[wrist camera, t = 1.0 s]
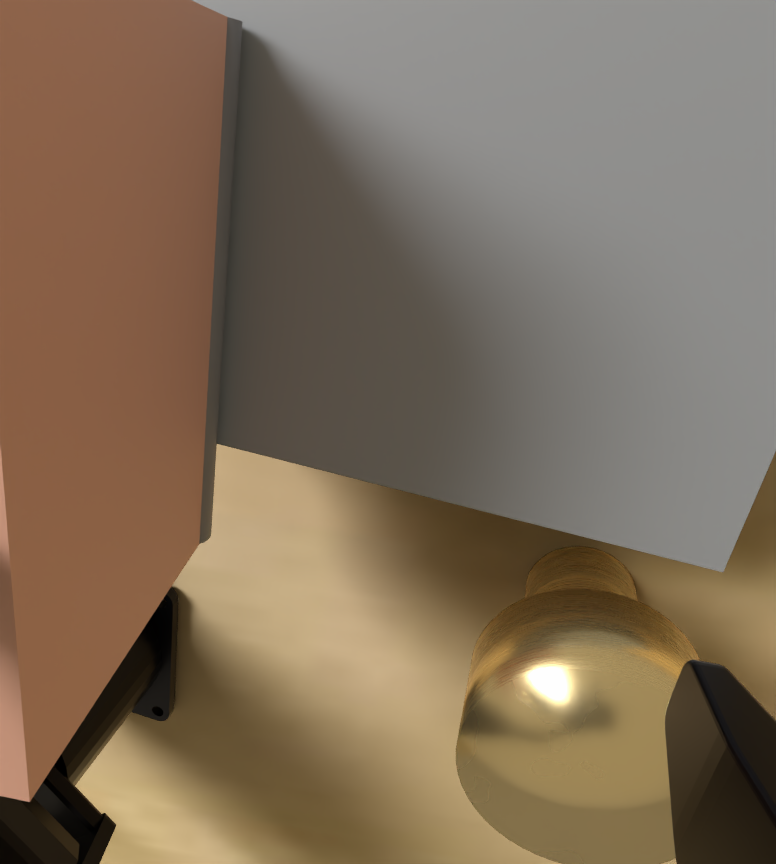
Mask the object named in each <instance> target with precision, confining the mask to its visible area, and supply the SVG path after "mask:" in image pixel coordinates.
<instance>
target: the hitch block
mask: <svg viewBox="0 0 776 864" xmlns="http://www.w3.org/2000/svg"><path fill="white" fill-rule="evenodd" d="M192 1H194V2H196V3H198V4H201V5H203V6H205V7H207V8H209V9H211V10H214V11H216V12H218V13H220V14H222V15H224V16H227V17H230V18H233V19H237V20H240V21H242V38H241V54H240V71H239V87H238V103H237V120H236V136H235V152H234V168H233V185H232V201H231V217H230V233H229V250H228V266H227V282H226V298H225V315H224V331H223V347H222V363H221V380H220V396H219V412H218V429H217V444H221V445H225V446H228V447H232V448H236V449H240V450H244V451H248V452H252V453H256V454H260V455H264V456H268V457H272V458H276V459H279V460H283V461H287V462H291V463H295V464H299V465H303V466H307V467H311V468H315V469H319V470H323V471H327V472H331V473H334V474H338V475H342V476H346V477H350V478H354V479H358V480H362V481H366V482H370V483H374V484H378V485H382V486H386V487H389V488H393V489H397V490H401V491H405V492H409V493H413V494H417V495H421V496H425V497H429V498H433V499H437V500H440V501H444V502H448V503H452V504H456V505H460V506H464V507H468V508H472V509H476V510H480V511H484V512H488V513H492V514H495V515H499V516H503V517H507V518H511V519H515V520H519V521H523V522H527V523H531V524H535V525H539V526H543V527H546V528H550V529H554V530H558V531H562V532H566V533H570V534H574V535H578V536H582V537H586V538H590V539H594V540H598V541H601V542H605V543H609V544H613V545H617V546H621V547H625V548H629V549H633V550H637V551H641V552H645V553H649V554H653V555H656V556H660V557H664V558H668V559H672V560H676V561H680V562H684V563H688V564H692V565H696V566H700V567H704V568H707V569H711V570H715V571H719V572H724V569H725V567H726V565H727V562H728V560H729V558H730V555H731V553H732V551H733V548H734V546H735V544H736V542H737V539H738V537H739V535H740V532H741V530H742V528H743V525H744V523H745V521H746V519H747V516H748V514H749V512H750V509H751V507H752V505H753V502H754V500H755V498H756V496H757V493H758V491H759V489H760V486H761V484H762V482H763V479H764V477H765V475H766V473H767V470H768V468H769V466H770V463H771V461H772V459H773V456H774V454H775V452H776V0H192Z"/></svg>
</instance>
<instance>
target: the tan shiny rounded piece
mask: <svg viewBox="0 0 776 864" xmlns="http://www.w3.org/2000/svg"><path fill="white" fill-rule="evenodd" d="M689 660H699V657H698V655H697V653H696V651H695V650H694V648H693V646H692V644H691V643H690V642H689V640H688V639H687V638H686V636H685V635H684V634H683V633H682V632H681V631H680V630H679V629H678V628H677V627H676V626H675V625H674V624H673V623H672V622H671V621H670V620H668V619H667V618H666V617H664V616H663V615H662V614H660V613H659V612H657V611H655V610H654V609H652V608H650V607H649V606H647V605H645V604H643V603H641V602H638V601H637V595H636V589H635V584H634V581H633V579H632V576H631V575H630V573H629V571H628V570H627V569H626V567H625V566H624V565H623V564H622V563H621V562H620V561H619V560H617V559H616V558H615V557H613V556H611V555H610V554H608V553H606V552H603V551H601V550H598V549H595V548H590V547H581V546H575V547H565V548H561V549H558V550H555V551H553V552H551V553H549V554H547V555H545V556H544V557H542V558H541V559H540V560H539V561H538V562H537V563H536V564H535V565H534V566H533V568H532V569H531V571H530V573H529V575H528V578H527V582H526V591H525V598H524V599H522V600H520V601H518V602H516V603H514V604H512V605H510V606H509V607H508V608H506V609H505V610H503V611H502V612H500V613H499V614H498V615H497V616H496V617H495V618H494V619H493V620H492V621H490V623H489V624H488V625H487V627H486V628H485V629H484V630H483V632H482V633H481V635H480V637H479V639H478V641H477V643H476V646H475V648H474V651H473V655H472V661H471V667H470V672H469V678H468V684H467V689H466V695H465V701H464V706H463V712H462V718H461V723H460V729H459V735H458V740H457V746H456V765H457V771H458V775H459V778H460V781H461V784H462V787H463V789H464V791H465V793H466V795H467V797H468V799H469V800H470V802H471V803H472V805H473V806H474V807H475V809H476V810H477V811H478V813H479V814H480V815H481V816H482V817H483V818H484V819H485V820H486V821H487V822H488V823H489V824H490V825H491V826H492V827H493V828H494V829H495V830H497V831H498V832H499V833H501V834H502V835H503V836H505V837H506V838H507V839H509V840H510V841H512V842H514V843H515V844H517V845H519V846H520V847H522V848H524V849H526V850H528V851H530V852H532V853H534V854H536V855H539V856H541V857H544V858H547V859H549V860H552V861H555V862H559V863H562V864H661V863H664V862H668V861H670V860H672V859H675V858H676V856H675V848H674V838H673V827H672V814H671V801H670V788H669V775H668V762H667V749H666V736H665V712H666V708H667V704H668V702H669V699H670V697H671V695H672V692H673V690H674V687H675V685H676V682H677V680H678V677H679V675H680V672H681V670H682V668H683V666H684V664H685V663H686V662H687V661H689ZM699 661H700V660H699Z"/></svg>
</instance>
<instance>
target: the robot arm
mask: <svg viewBox="0 0 776 864" xmlns="http://www.w3.org/2000/svg"><path fill="white" fill-rule="evenodd" d="M164 599H165V600H166V601H164V600H162V601H161V603H160V604H159V606H158V607H157V609H156V610H155V612H154V614H153V615H152V617H151V618H150V620H149V621H148V623H147V624H146V626H145V627H144V629H143V630H142V632H141V633H140V635H139V636H138V638H137V639H136V641H135V642H134V644H133V646H132V647H131V649H130V650H129V652H128V653H127V655H126V656H125V658H124V659H123V661H122V662H121V664H120V665H119V667H118V668H117V670H116V671H115V673H114V674H113V676H112V678H111V679H110V681H109V682H108V684H107V685H106V687H105V688H104V690H103V691H102V693H101V694H100V696H99V697H98V699H97V700H96V702H95V703H94V705H93V706H92V708H91V709H90V711H89V713H88V714H87V716H86V717H85V719H84V720H83V722H82V723H81V725H80V726H79V728H78V729H77V731H76V732H75V734H74V735H73V737H72V738H71V740H70V741H69V743H68V745H67V746H66V748H65V749H64V751H63V752H62V754H61V755H60V757H59V758H58V760H57V761H56V763H55V764H54V766H53V767H52V769H51V770H50V772H49V773H48V775H47V776H46V778H45V780H44V781H43V783H42V784H41V786H40V787H39V789H38V790H37V792H36V793H35V795H34V796H33V798H32V799H31V801H30V802H27V801H22V800H17V799H13V798H8V797H3V796H0V864H99V863H100V861H101V859H102V856H103V854H104V852H105V850H106V847H107V845H108V843H109V841H110V838H111V836H112V834H113V832H114V829H115V827H116V824H115V823H114V822H113V821H112V820H111V819H110V818H109V817H108V816H107V815H106V814H105V813H103V814H101V813H100V812H99V811H98V810H97V809H96V808H95V807H94V806H93V805H92V803H91V802H90V801H89V800H88V799H87V798H86V797H85V796H84V795H83V794H82V793H81V792H80V791H79V790H78V789H77V788H76V787H75V785H76V784H77V782H78V781H79V780H80V778H81V777H82V776H83V774H84V773H85V772H86V770H87V769H88V768H89V767H90V765H91V764H92V763H93V761H94V760H95V759H96V757H97V756H98V755H99V753H100V752H101V751H102V749H103V748H104V747H105V746H106V744H107V743H108V742H109V740H110V739H111V738H112V736H113V735H114V734H115V732H116V731H117V730H118V728H119V727H120V726H121V725H122V723H123V722H124V721H125V719H126V718H127V717H128V715H129V714H130V713H131V712H133V713H136V714H139V715H142V716H145V717H149V718H152V719H155V720H158V721H164V720H166V719H168V717H169V716H170V715H171V713H172V712H173V709H174V697H175V672H176V647H177V622H178V595H177V593H176V592H175V591H174V590H173V589H172V588H170V589H169V591H168V592H167V594H166V595H165V597H164ZM665 736H666V749H667V762H668V775H669V788H670V801H671V814H672V827H673V838H674V848H675V856H676V862H677V864H776V720H775V719H774V718H773V717H772V716H771V715H770V714H769V713H768V712H767V710H766V709H765V708H764V707H763V706H762V705H761V704H760V703H759V702H758V701H757V700H756V699H755V698H754V697H753V696H752V694H751V693H750V692H749V691H748V690H747V689H746V688H745V687H744V686H743V685H742V684H741V683H740V682H739V681H738V679H737V678H736V677H735V676H734V675H733V674H732V673H731V672H730V671H729V670H728V669H727V668H725V667H724V666H722V665H719V664H715V663H709V662H704V661H699V660H689V661H687V662H686V663H685V664H684V666H683V668H682V670H681V672H680V675H679V677H678V680H677V682H676V685H675V687H674V690H673V692H672V695H671V697H670V699H669V702H668V704H667V708H666V712H665Z"/></svg>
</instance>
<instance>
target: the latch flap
mask: <svg viewBox="0 0 776 864" xmlns="http://www.w3.org/2000/svg"><path fill="white" fill-rule="evenodd" d="M241 38H242V21H240V20H237V19H233V18H230V17H227V16H224V15H222V14H220V13H218V12H216V11H214V10H211V9H209V8H207V7H205V6H203V5H201V4H198V3H196V2H194V1H192V0H0V796H3V797H8V798H13V799H17V800H22V801H27V802H30V801H31V799H32V798H33V796H34V795H35V793H36V792H37V790H38V789H39V787H40V786H41V784H42V783H43V781H44V780H45V778H46V776H47V775H48V773H49V772H50V770H51V769H52V767H53V766H54V764H55V763H56V761H57V760H58V758H59V757H60V755H61V754H62V752H63V751H64V749H65V748H66V746H67V745H68V743H69V741H70V740H71V738H72V737H73V735H74V734H75V732H76V731H77V729H78V728H79V726H80V725H81V723H82V722H83V720H84V719H85V717H86V716H87V714H88V713H89V711H90V709H91V708H92V706H93V705H94V703H95V702H96V700H97V699H98V697H99V696H100V694H101V693H102V691H103V690H104V688H105V687H106V685H107V684H108V682H109V681H110V679H111V678H112V676H113V674H114V673H115V671H116V670H117V668H118V667H119V665H120V664H121V662H122V661H123V659H124V658H125V656H126V655H127V653H128V652H129V650H130V649H131V647H132V646H133V644H134V642H135V641H136V639H137V638H138V636H139V635H140V633H141V632H142V630H143V629H144V627H145V626H146V624H147V623H148V621H149V620H150V618H151V617H152V615H153V614H154V612H155V610H156V609H157V607H158V606H159V604H160V603H161V601H162V600H163V598H164V597H165V595H166V594H167V592H168V591H169V589H170V588H171V586H172V585H173V583H174V582H175V580H176V579H177V577H178V575H179V574H180V572H181V571H182V569H183V568H184V566H185V565H186V563H187V562H188V560H189V559H190V557H191V556H192V554H193V553H194V551H195V550H196V548H197V547H198V545H199V544H200V543H203V542H205V541H206V540H208V539H209V538H210V536H211V526H212V510H213V494H214V477H215V461H216V445H217V429H218V412H219V396H220V380H221V363H222V347H223V331H224V315H225V298H226V282H227V266H228V250H229V233H230V217H231V201H232V185H233V168H234V152H235V136H236V120H237V103H238V87H239V71H240V54H241Z"/></svg>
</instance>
